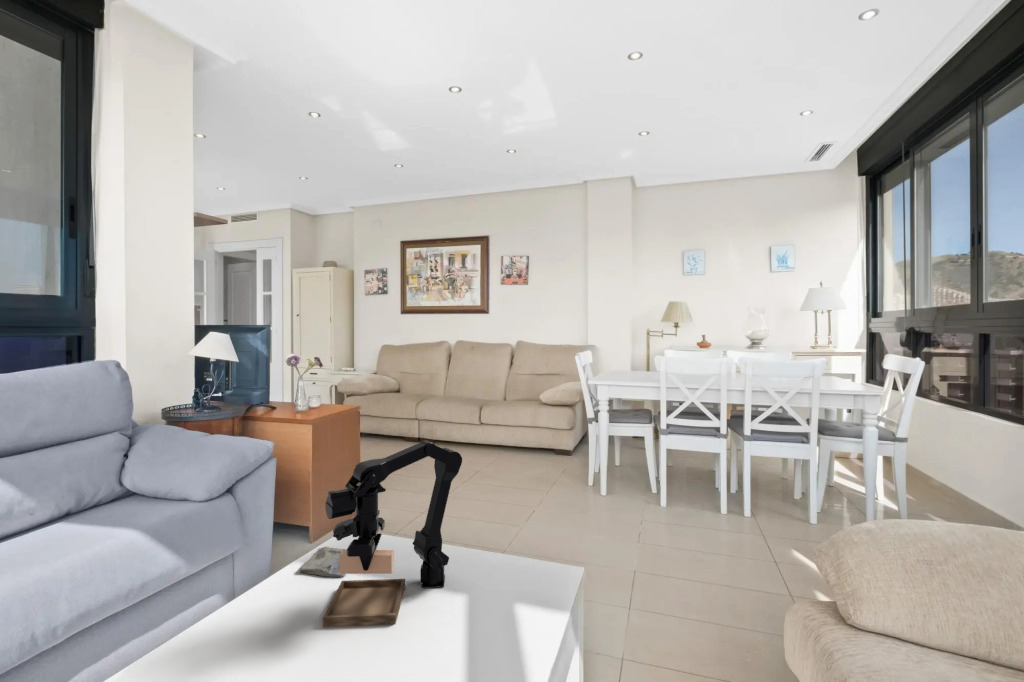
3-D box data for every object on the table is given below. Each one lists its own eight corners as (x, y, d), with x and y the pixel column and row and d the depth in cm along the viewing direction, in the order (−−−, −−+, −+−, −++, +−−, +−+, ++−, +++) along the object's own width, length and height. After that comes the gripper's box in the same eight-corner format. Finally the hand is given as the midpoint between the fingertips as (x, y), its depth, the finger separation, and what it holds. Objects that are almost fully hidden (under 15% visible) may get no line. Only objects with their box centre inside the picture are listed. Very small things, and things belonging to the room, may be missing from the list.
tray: (405, 586, 142) (405, 578, 142) (395, 624, 124) (395, 614, 124) (341, 588, 140) (341, 580, 140) (322, 627, 122) (322, 617, 122)
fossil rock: (318, 552, 164) (318, 545, 164) (362, 553, 164) (362, 546, 164) (294, 578, 147) (294, 570, 147) (343, 579, 146) (343, 572, 146)
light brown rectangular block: (394, 568, 133) (394, 550, 133) (391, 573, 130) (391, 555, 130) (343, 568, 133) (342, 550, 133) (339, 573, 130) (339, 555, 130)
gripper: (345, 498, 140) (345, 552, 140) (326, 524, 121) (326, 586, 122) (384, 497, 141) (385, 551, 141) (371, 523, 122) (371, 584, 123)
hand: (367, 567), depth 132 cm, fingers closed on light brown rectangular block, 3 cm apart
